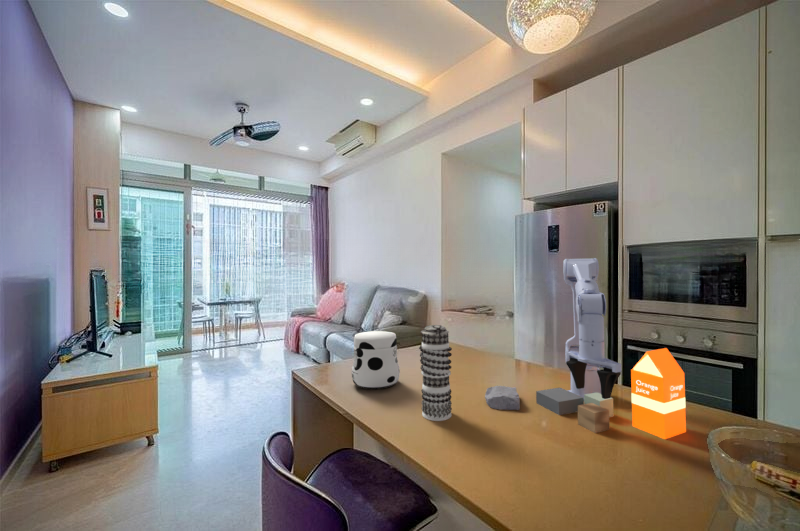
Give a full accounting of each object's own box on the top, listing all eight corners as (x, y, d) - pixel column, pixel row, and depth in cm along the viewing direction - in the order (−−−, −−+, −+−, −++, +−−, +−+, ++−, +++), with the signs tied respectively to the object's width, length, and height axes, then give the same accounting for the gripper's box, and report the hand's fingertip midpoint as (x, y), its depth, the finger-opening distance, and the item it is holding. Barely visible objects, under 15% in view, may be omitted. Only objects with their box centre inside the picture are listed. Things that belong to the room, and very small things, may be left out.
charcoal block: (560, 400, 105) (559, 387, 105) (584, 411, 97) (583, 397, 97) (536, 404, 102) (536, 391, 102) (559, 416, 94) (558, 401, 94)
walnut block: (592, 421, 90) (591, 402, 90) (609, 429, 85) (609, 409, 85) (578, 424, 88) (577, 405, 88) (595, 433, 83) (594, 413, 84)
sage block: (597, 409, 97) (596, 392, 97) (613, 416, 93) (613, 398, 93) (584, 412, 96) (584, 394, 96) (600, 419, 91) (599, 401, 91)
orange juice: (631, 426, 87) (629, 348, 87) (652, 419, 90) (650, 344, 91) (665, 439, 80) (663, 355, 80) (687, 432, 83) (684, 351, 83)
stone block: (488, 415, 99) (523, 410, 97) (484, 399, 99) (519, 394, 97) (486, 401, 111) (517, 397, 109) (483, 386, 111) (514, 382, 109)
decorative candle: (440, 425, 89) (438, 330, 89) (413, 415, 95) (412, 326, 96) (459, 413, 96) (457, 325, 96) (433, 405, 102) (431, 322, 102)
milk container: (408, 381, 124) (407, 332, 124) (381, 397, 110) (380, 341, 110) (371, 374, 133) (370, 329, 134) (341, 387, 119) (340, 336, 119)
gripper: (557, 336, 92) (558, 386, 92) (606, 347, 79) (607, 405, 79) (576, 334, 95) (577, 382, 95) (627, 344, 81) (628, 401, 81)
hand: (592, 392), depth 87 cm, fingers open, 7 cm apart
